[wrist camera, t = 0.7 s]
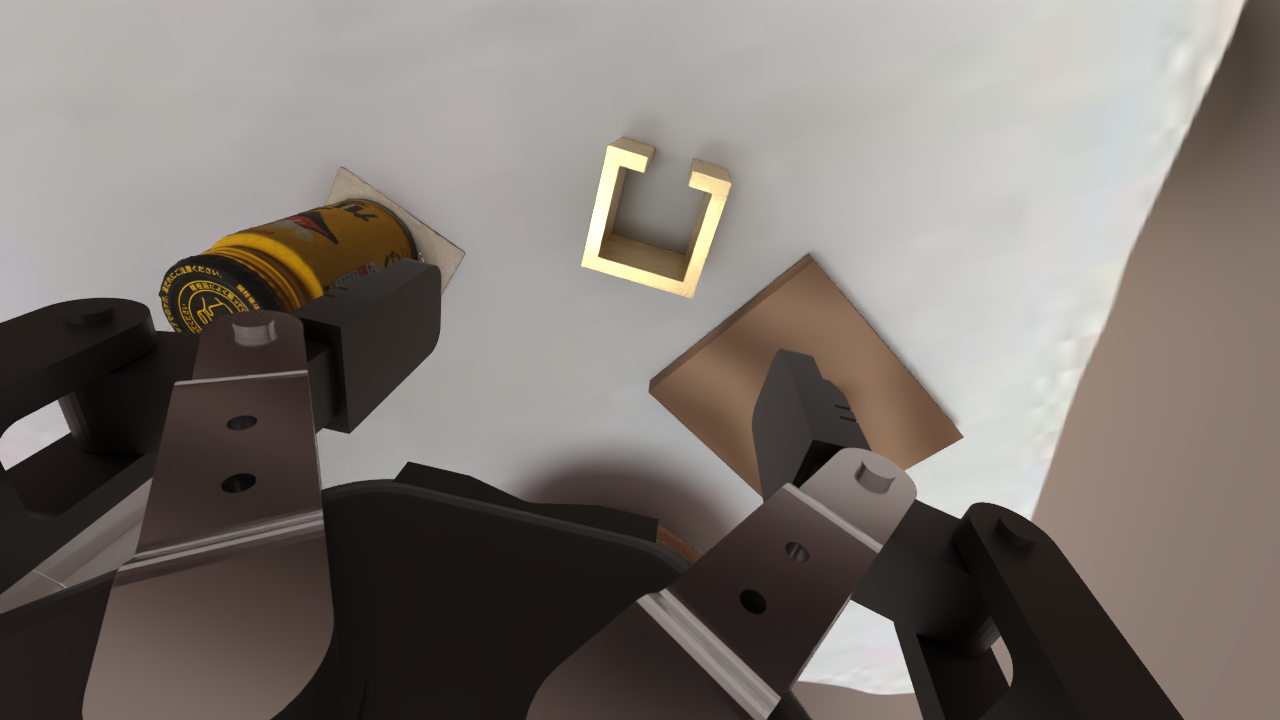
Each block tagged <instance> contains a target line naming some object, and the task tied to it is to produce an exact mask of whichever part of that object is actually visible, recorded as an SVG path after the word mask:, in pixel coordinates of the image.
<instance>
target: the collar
mask: <svg viewBox="0 0 1280 720" xmlns="http://www.w3.org/2000/svg"><path fill="white" fill-rule="evenodd" d="M654 150H655V147H653V146H650V145H646V144H643V143H640V142H637V141H633V140H630V139H627V138H623V137H621V138H620V139H618V140H616V141H615V142H613V143H611V144H610V145H608V149H607V153H606V158H605V162H604V167H603V171H602V176H601V180H600V185H599V189H598V194H597V198H596V203H595V207H594V211H593V216H592V220H591V225H590V229H589V234H588V238H587V243H586V247H585V252H584V256H583V261H582V265H581V266H583V267H587V268H590V269H594V270H597V271H600V272H604V273H607V274H611V275H614V276H617V277H621V278H624V279H628V280H631V281H634V282H638V283H641V284H645V285H648V286H651V287H655V288H658V289H661V290H665V291H668V292H672V293H675V294H678V295H682V296H685V297H689V298H692V297H693V294H694V291H695V288H696V286H697V283H698V280H699V277H700V274H701V271H702V268H703V265H704V262H705V259H706V257H707V254H708V251H709V248H710V245H711V242H712V239H713V236H714V233H715V231H716V228H717V225H718V222H719V219H720V216H721V213H722V210H723V207H724V204H725V202H726V199H727V196H728V193H729V190H730V187H731V184H732V182H731V180H730V177H729V175H728V172H727V170H726V169H725V168H721V167H718V166H715V165H712V164H708V163H705V162H702V161H699V160H695V159H693V162H692V165H691V169H690V172H689V185H688V186H689V187H692V188H696V189H699V190H702V191H706V192H705V195H704V198H703V201H702V204H701V208H700V211H699V214H698V217H697V220H696V223H695V226H694V229H693V232H692V235H691V238H690V242H689V245H688V248H687V251H686V254H685V255H683V254H679V253H676V252H673V251H669V250H666V249H663V248H659V247H656V246H652V245H649V244H646V243H642V242H639V241H636V240H632V239H629V238H626V237H622V236H619V235H616V234H612V230H613V226H614V222H615V217H616V213H617V209H618V205H619V201H620V197H621V193H622V189H623V185H624V181H625V177H626V173H627V169H628V168H630V169H633V170H637V171H640V172H643V173H644V171H645V170H646V168H647V167H648V165H649V164H650V162H651V161H652V158H653V154H654Z"/></svg>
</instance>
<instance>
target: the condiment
mask: <svg viewBox="0 0 1280 720" xmlns="http://www.w3.org/2000/svg"><path fill="white" fill-rule="evenodd" d="M419 251H420V252H421V254H422V255H421V256H420V255H419ZM464 254H465V253H464V252H462V251H461V250H460V249H458V248H456V247H455V246H453V245H452V244H451V243H449V242H448V241H447V240H445V239H444V238H442V237H441V236H439V235H437V234H436V233H435V232H433V231H432V230H431V229H429V228H428V227H427V226H425V225H423V224H422V223H420V222H419V221H418V220H417V219H415V218H414V217H412V216H411V215H410V214H408V213H407V212H406V211H405V210H403V209H402V208H400V207H399V206H398V205H396V204H395V203H393V202H392V201H390V200H389V199H387V198H386V197H385V196H383V195H382V194H381V193H379V192H378V191H376V190H375V189H374V188H372V187H371V186H369V185H368V184H366V183H365V182H363V181H362V180H360V179H359V178H358V177H356V176H355V175H353V174H352V173H350V172H349V171H347V170H346V169H344V168H342V167H340V168H339V171H338V173H337V176H336V178H335V180H334V183H333V186H332V188H331V191H330V194H329V196H328V199H327V202H326V204H325V206H323V207H319V208H316V209H312V210H309V211H306V212H302V213H299V214H297V215H294V216H291V217H287V218H284V219H280V220H277V221H274V222H271V223H268V224H264V225H261V226H257V227H252V228H249V229H246V230H242V231H239V232H237V233H235V234H231V235H228V236H226V237H224V238H222V239H221V240H219V241H218V242H216V243H215V244H214V246H213V247H212V248H211V249H209V250H207V251H205V252H203V253H202V254H200V255H197V256H190V257H188V258H186V259H182V260H180V261H178V262H177V263H176V264H175V265H174V266H172V267H171V268H170V269H169V270H168V271H167V272H166V274H165V276H164V279H163V282H162V285H161V290H160V292H159V296H160V297H161V300H162V307H163V311H164V313H165V315H166V317H167V319H168V321H169V323H170V324H171V325H172V327H173V329H174V330H175V332H185V333H201V330H202V328H203V327H204V325H205V324H207V323H208V322H209V321H211V320H213V319H215V318H217V317H220V316H223V315H226V314H230V313H235V312H241V311H251V310H268V311H277V312H283V313H286V314H289V313H290V312H292V311H294V310H296V309H298V308H299V307H301V306H303V305H305V304H307V303H309V302H310V301H312V300H314V299H316V298H318V297H320V296H321V295H323V296H325V293H327V292H329V291H331V290H332V289H334V288H337V289H338V286H340V285H342V284H343V283H345V282H347V281H349V280H351V279H353V278H355V277H359V276H363V275H368V274H372V273H376V272H379V271H381V270H383V269H384V268H386V267H388V266H390V265H391V264H393V263H395V262H397V261H398V260H400V259H402V258H407V259H411V260H415V261H420V262H423V261H422V259H421V258H422V257H423V258H424V260H425V263H428V264H432V265H436V266H438V267H439V269H440V271H441V279H442V281H441V294H442V292H443V291H444V289H445V288H446V285H447V283H448V282H449V280H450V278H451V276H452V275H453V273H454V272H455V270H456V268H457V266H458V264H459V263H460V261H461V259H462V257H463V256H464Z"/></svg>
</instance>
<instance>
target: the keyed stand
mask: <svg viewBox="0 0 1280 720" xmlns="http://www.w3.org/2000/svg"><path fill="white" fill-rule="evenodd" d="M780 348H783V349H787V350H791V351H796V352H800V353H804V354H808V355H812V356H813V357H814V359H815V362H816V364H817V366H818V369H819V371H820V373H821V375H822V378H823V379H825V380H829V381H831V382H832V383H833V384H834V385H835V386H836V387H837V388H838V389H839V390H840V391H841V392H842V393H843V394H844V395H845V397H846V399H847V401H848V403H849V405H850V407H851V411H853V413H854V415H855V417H856V419H857V421H856V423H859V426H860V428H861V430H862V432H863V434H864V436H865V438H866V440H867V442H868V444H869V446H870V448H871V450H872V452H874V453H877V454H879V455H881V456H883V457H885V458H887V459H889V460H890V461H892V462H893V463H895V464H896V465H897V466H899V467H900V468H901V469H902V470H904V471H905V470H906V469H908V468H910V467H912V466H914V465H915V464H917V463H919V462H921V461H923V460H924V459H926V458H928V457H930V456H932V455H933V454H935V453H937V452H939V451H940V450H942V449H944V448H946V447H948V446H949V445H951V444H953V443H955V442H957V441H958V440H960V439H962V438H964V437H963V435H962V434H961V433H960V432H959V430H958V429H957V428H956V426H955V425H954V424H953V423H952V422H951V420H950V419H949V418H948V417H947V416H946V414H945V413H944V412H943V411H942V410H941V409H940V407H939V406H938V405H937V404H936V403H935V402H934V400H933V399H932V398H931V397H930V396H929V395H928V393H927V392H926V391H925V390H924V389H923V387H922V386H921V385H920V384H919V383H918V382H917V380H916V379H915V378H914V377H913V376H912V375H911V373H910V372H909V371H908V370H907V369H906V368H905V366H904V365H903V364H902V363H901V362H900V360H899V359H898V358H897V357H896V356H895V355H894V353H893V352H892V351H891V350H890V349H889V348H888V346H887V345H886V344H885V343H884V342H883V340H882V339H881V338H880V337H879V336H878V335H877V333H876V332H875V331H874V330H873V329H872V328H871V326H870V325H869V324H868V323H867V322H866V321H865V319H864V318H863V317H862V316H861V315H860V313H859V312H858V311H857V310H856V309H855V308H854V306H853V305H852V304H851V303H850V302H849V301H848V299H847V298H846V297H845V296H844V295H843V294H842V292H841V291H840V290H839V289H838V288H837V286H836V285H835V284H834V283H833V282H832V281H831V279H830V278H829V277H828V276H827V275H826V274H825V272H824V271H823V270H822V269H821V268H820V266H819V265H818V264H817V263H816V262H815V261H814V259H813V258H812V257H811V256H810V255H809V254H807V255H806V256H805V257H803V258H802V259H801V260H800V261H798V262H797V263H796V264H795V265H793V266H792V267H791V268H790V269H788V270H787V271H786V272H785V273H783V274H782V275H781V276H780V277H779V278H777V279H776V280H775V281H774V282H772V283H771V284H770V285H769V286H767V287H766V288H765V289H764V290H762V291H761V292H760V293H759V294H757V295H756V296H755V297H754V298H752V299H751V300H750V301H749V302H747V303H746V304H745V305H744V306H742V307H741V308H740V309H739V310H737V311H736V312H735V313H734V314H733V315H731V316H730V317H729V318H728V319H726V320H725V321H724V322H723V323H721V324H720V325H719V326H718V327H716V328H715V329H714V330H713V331H711V332H710V333H709V334H708V335H706V336H705V337H704V338H703V339H701V340H700V341H699V342H698V343H696V344H695V345H694V346H693V347H691V348H690V349H689V350H688V351H687V352H685V353H684V354H683V355H682V356H680V357H679V358H678V359H677V360H675V361H674V362H673V363H672V364H670V365H669V366H668V367H667V368H665V369H664V370H663V371H662V372H660V373H659V374H658V375H657V376H655V377H654V378H653V379H652V380H650V385H649V393H650V394H651V395H652V396H653V397H654V398H655V399H657V400H658V401H659V402H660V403H661V404H662V405H663V406H664V407H665V408H666V409H667V410H668V411H669V412H671V413H672V414H673V415H674V416H675V417H676V418H677V419H678V420H679V421H680V422H681V423H682V424H684V425H685V426H686V427H687V428H688V429H689V430H690V431H691V432H692V433H693V434H694V435H695V436H697V437H698V438H699V439H700V440H701V441H702V442H703V443H704V444H705V445H706V446H707V447H708V448H709V449H711V450H712V451H713V452H714V453H715V454H716V455H717V456H718V457H719V458H720V459H721V460H722V461H724V462H725V463H726V464H727V465H728V466H729V467H730V468H731V469H732V470H733V471H734V472H735V473H737V474H738V475H739V476H740V477H741V478H742V479H743V480H744V481H745V482H746V483H747V484H748V485H749V486H751V487H752V488H753V489H754V490H755V491H756V492H757V493H758V494H759V495H760V496H761V497H762V498H763V496H762V490H761V483H760V477H759V471H758V465H757V459H756V452H755V446H754V440H753V434H752V416H753V411H754V408H755V404H756V402H757V399H758V396H759V394H760V391H761V389H762V386H763V384H764V381H765V378H766V376H767V373H768V371H769V368H770V366H771V363H772V360H773V358H774V356H775V354H776V352H777V351H778V350H779V349H780Z"/></svg>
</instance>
